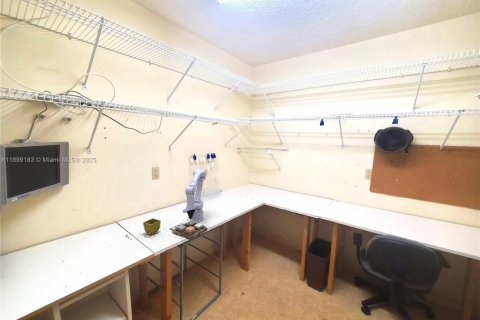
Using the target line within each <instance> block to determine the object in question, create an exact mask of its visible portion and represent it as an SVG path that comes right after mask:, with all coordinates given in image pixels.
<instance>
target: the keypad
mask: <svg viewBox="0 0 480 320" xmlns="http://www.w3.org/2000/svg"><path fill="white" fill-rule="evenodd" d="M183 224H184V225H183V226H186V228H188V227H190V225H187V224H186V223H183ZM196 224H198V223H195V224H193V225H191V227H194V225H196ZM202 225H203V226H202V227H200V228H197V227H194V228H195V231H193V232H191V233H188V232H186V228H185V229H183V230H180V229H178V228H176V229H175V230H173V231H172V230H171V231H172V233H171V234H173V235H176V236H179V237H181V238H183V239H186V240H189V241H192V240H193V239H195V238H197V237H199V236H200V235H201V234H203V233H205V232H206V231H208V227H207V226H205V225H204V224H202Z"/></svg>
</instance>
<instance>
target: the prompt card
mask: <svg viewBox="0 0 480 320" xmlns="http://www.w3.org/2000/svg"><path fill="white" fill-rule="evenodd" d="M184 224H185V223H182V222H181V223H179V224H177V225H175V226H173V227H170V228H169V231H173V230H175V229H176V228H178V227H179V226H181V225H184Z"/></svg>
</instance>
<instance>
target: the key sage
mask: <svg viewBox="0 0 480 320" xmlns="http://www.w3.org/2000/svg"><path fill="white" fill-rule="evenodd" d="M185 224H187V225H190V226H191V225H193V224H195V222H193V221H190V220H189V221H187V222H186V223H185Z"/></svg>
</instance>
